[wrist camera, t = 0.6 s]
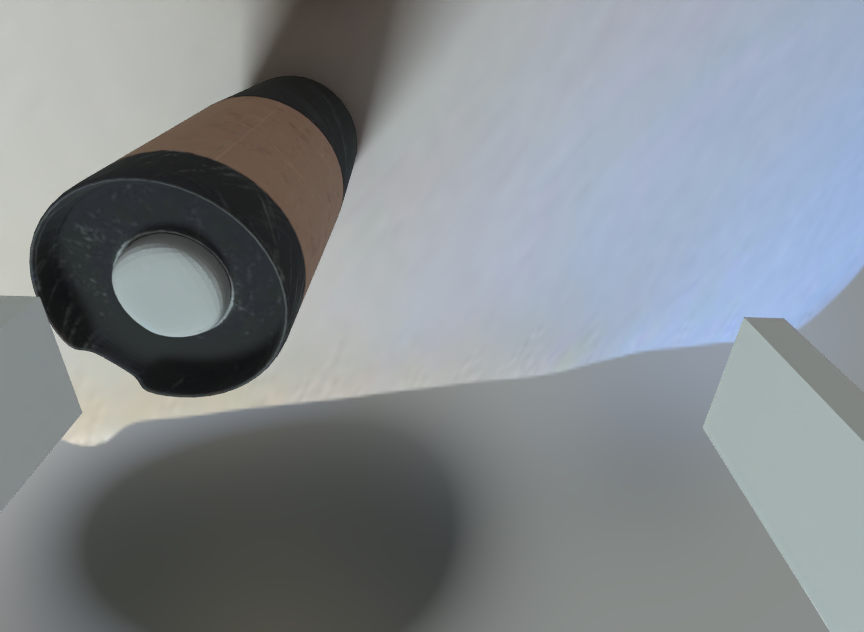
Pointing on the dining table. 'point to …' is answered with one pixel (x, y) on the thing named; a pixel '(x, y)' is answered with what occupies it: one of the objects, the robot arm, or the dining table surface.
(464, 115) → the dining table surface
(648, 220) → the dining table surface
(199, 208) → the travel mug
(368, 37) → the dining table surface
